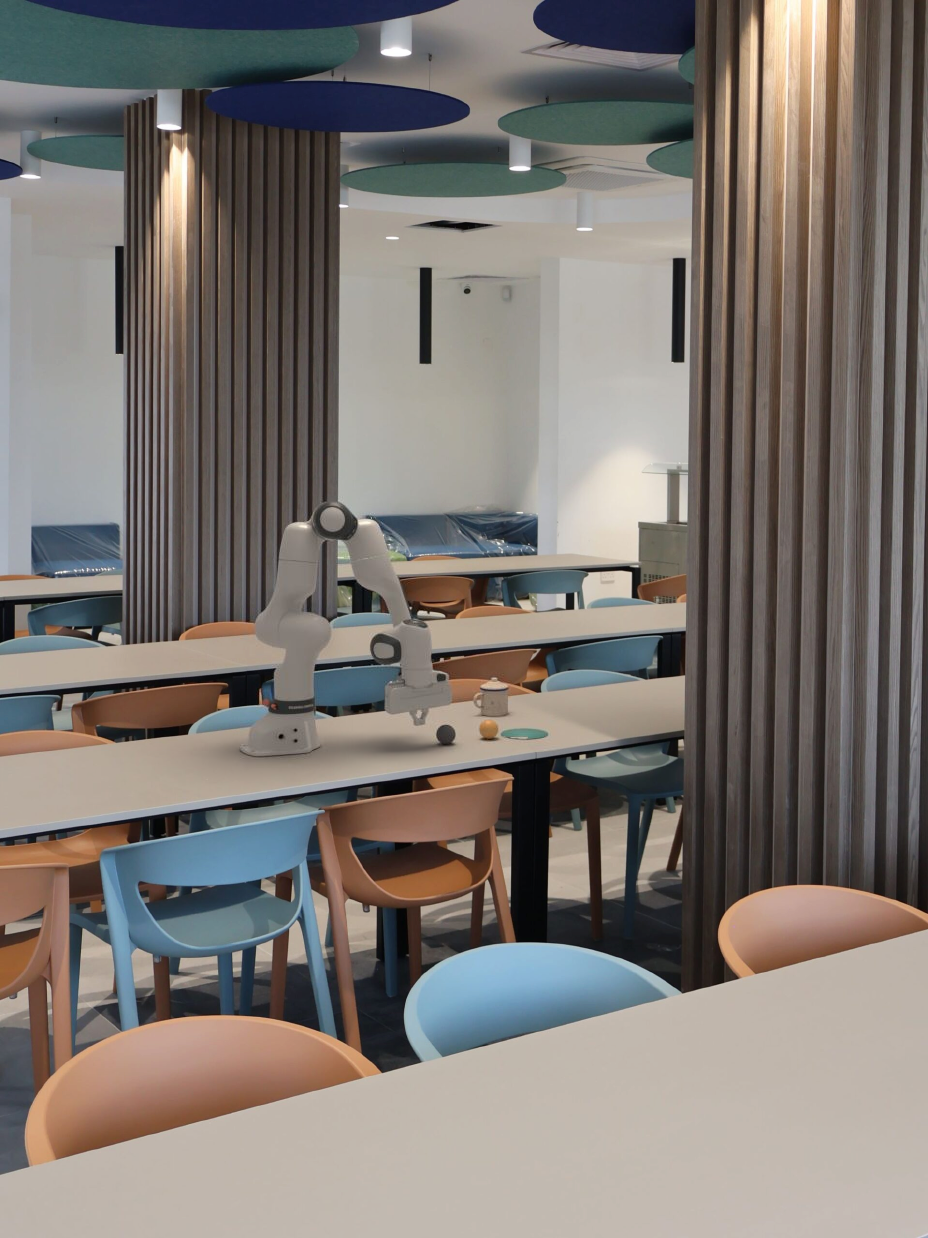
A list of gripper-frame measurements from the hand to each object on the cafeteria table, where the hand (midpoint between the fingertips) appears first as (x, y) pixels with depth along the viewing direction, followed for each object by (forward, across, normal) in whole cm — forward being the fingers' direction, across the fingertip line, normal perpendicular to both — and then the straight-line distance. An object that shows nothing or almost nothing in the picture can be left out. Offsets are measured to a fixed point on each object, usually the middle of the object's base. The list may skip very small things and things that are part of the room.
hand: (419, 724), depth 361 cm
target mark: (+8, +33, -3) cm, 34 cm away
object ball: (+4, +22, -2) cm, 22 cm away
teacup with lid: (+8, +40, +27) cm, 49 cm away
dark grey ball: (+4, +8, -2) cm, 9 cm away
